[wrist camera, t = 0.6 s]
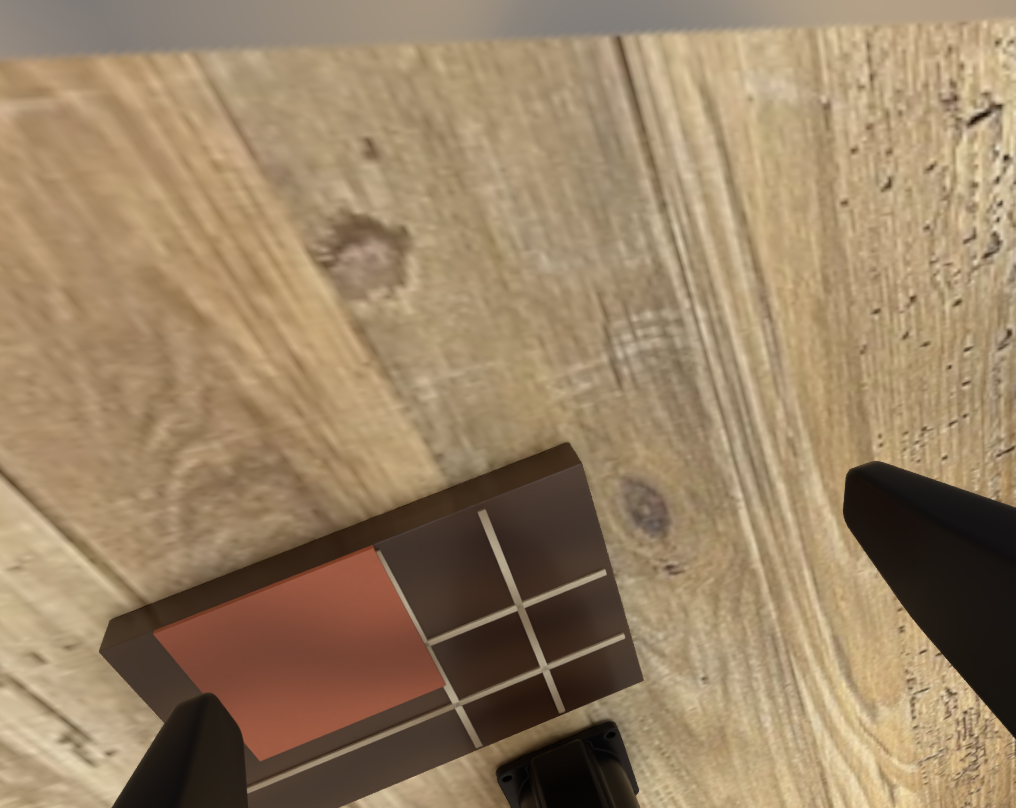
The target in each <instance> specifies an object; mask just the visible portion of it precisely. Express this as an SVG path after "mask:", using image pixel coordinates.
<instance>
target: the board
mask: <svg viewBox="0 0 1016 808" xmlns="http://www.w3.org/2000/svg"><path fill="white" fill-rule="evenodd" d="M99 653H100V654H101V655H102V656H103V657H104V658H105V659H106V660H107V661H108V663H109V664H110V665H111V666H112V667H113V668H114V669H115V670H116V671H117V672H118V673H119V674H120V676H121V677H122V678H123V679H124V680H125V681H126V682H127V683H128V684H129V685H130V686H131V687H132V689H133V690H134V691H135V692H136V693H137V694H138V695H139V696H140V697H141V698H142V699H143V700H144V702H145V703H146V704H147V705H148V706H149V707H150V708H151V709H152V710H153V711H154V712H155V713H156V715H157V716H158V717H159V718H160V719H161V720H162V721H163V722H164V723H165V722H166V720H167V718H168V717H169V715H170V714H171V712H172V710H173V709H174V708H175V706H176V705H177V704H178V703H180V702H181V701H183V700H186V699H189V698H191V697H194V696H197V695H200V694H203V693H207V692H210V693H213V694H215V695H216V696H217V697H218V699H219V700H220V701H221V703H222V704H223V705H224V707H225V708H226V709H227V711H228V712H229V713H230V715H231V716H232V717H233V719H234V720H235V721H236V723H237V724H238V726H239V728H240V730H241V733H242V736H243V741H244V752H245V766H246V781H247V796H248V808H339V807H341V806H344V805H346V804H349V803H351V802H353V801H356V800H358V799H361V798H363V797H365V796H368V795H370V794H373V793H375V792H378V791H380V790H382V789H385V788H387V787H390V786H392V785H394V784H397V783H399V782H402V781H404V780H406V779H409V778H411V777H414V776H416V775H418V774H421V773H423V772H426V771H428V770H430V769H433V768H435V767H438V766H440V765H442V764H445V763H447V762H450V761H452V760H454V759H457V758H459V757H462V756H464V755H466V754H469V753H471V752H474V751H476V750H478V749H481V748H483V747H486V746H488V745H490V744H493V743H495V742H498V741H500V740H502V739H505V738H507V737H510V736H512V735H514V734H517V733H519V732H522V731H524V730H526V729H529V728H531V727H534V726H536V725H538V724H541V723H543V722H546V721H548V720H550V719H553V718H555V717H558V716H560V715H562V714H565V713H567V712H570V711H572V710H574V709H577V708H579V707H582V706H584V705H587V704H589V703H591V702H594V701H596V700H599V699H601V698H603V697H606V696H608V695H611V694H613V693H615V692H618V691H620V690H623V689H625V688H627V687H630V686H632V685H635V684H637V683H639V682H642V681H644V679H643V675H642V672H641V668H640V665H639V661H638V658H637V654H636V651H635V647H634V644H633V640H632V637H631V633H630V630H629V626H628V623H627V619H626V616H625V612H624V609H623V605H622V602H621V598H620V595H619V591H618V588H617V584H616V581H615V577H614V574H613V570H612V567H611V563H610V560H609V556H608V553H607V549H606V546H605V542H604V539H603V535H602V532H601V528H600V524H599V521H598V517H597V514H596V510H595V507H594V503H593V500H592V496H591V493H590V489H589V486H588V482H587V479H586V475H585V472H584V468H583V465H582V462H581V461H580V459H579V457H578V456H577V454H576V452H575V451H574V449H573V448H572V446H571V444H570V443H566V444H563V445H561V446H558V447H555V448H553V449H550V450H548V451H545V452H543V453H540V454H537V455H535V456H532V457H530V458H527V459H525V460H522V461H519V462H517V463H514V464H512V465H509V466H507V467H504V468H501V469H499V470H496V471H494V472H491V473H489V474H486V475H483V476H481V477H478V478H476V479H473V480H470V481H468V482H465V483H463V484H460V485H458V486H455V487H452V488H450V489H447V490H445V491H442V492H440V493H437V494H434V495H432V496H429V497H427V498H424V499H422V500H419V501H416V502H414V503H411V504H409V505H406V506H404V507H401V508H398V509H396V510H393V511H391V512H388V513H386V514H383V515H380V516H378V517H375V518H373V519H370V520H367V521H365V522H362V523H360V524H357V525H355V526H352V527H349V528H347V529H344V530H342V531H339V532H337V533H334V534H331V535H329V536H326V537H324V538H321V539H319V540H316V541H313V542H311V543H308V544H306V545H303V546H301V547H298V548H295V549H293V550H290V551H288V552H285V553H283V554H280V555H277V556H275V557H272V558H270V559H267V560H265V561H262V562H259V563H257V564H254V565H252V566H249V567H246V568H244V569H241V570H239V571H236V572H234V573H231V574H228V575H226V576H223V577H221V578H218V579H216V580H213V581H210V582H208V583H205V584H203V585H200V586H198V587H195V588H192V589H190V590H187V591H185V592H182V593H180V594H177V595H174V596H172V597H169V598H167V599H164V600H162V601H159V602H156V603H154V604H151V605H149V606H146V607H144V608H141V609H138V610H136V611H133V612H131V613H128V614H125V615H123V616H120V617H118V618H115V619H113V620H110V621H109V624H108V627H107V630H106V632H105V635H104V638H103V641H102V644H101V647H100V649H99Z"/></svg>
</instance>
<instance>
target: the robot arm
mask: <svg viewBox="0 0 1016 808" xmlns="http://www.w3.org/2000/svg"><path fill="white" fill-rule="evenodd" d="M843 515H844V519H845V522H846V524H847V526H848V528H849V529H850V531H851V532H852V534H853V535H854V537H855V538H856V539H857V541H858V542H859V544H860V545H861V547H862V548H863V550H864V551H865V552H866V554H867V555H868V557H869V558H870V560H871V561H872V562H873V564H874V565H875V567H876V568H877V570H878V571H879V572H880V574H881V575H882V577H883V578H884V580H885V581H886V583H887V584H888V585H889V587H890V588H891V590H892V591H893V593H894V594H895V595H896V597H897V598H898V600H899V601H900V603H901V604H902V605H903V607H904V608H905V609H906V611H907V612H908V613H909V615H910V616H911V617H912V619H913V620H914V621H915V622H916V623H917V625H918V626H919V627H920V628H921V630H922V631H923V632H924V633H925V634H926V635H927V637H928V638H929V639H930V640H931V641H932V642H933V644H934V645H935V646H936V647H937V648H938V649H939V651H940V652H941V653H942V654H943V655H944V656H945V658H946V659H947V660H948V661H949V662H950V663H951V665H952V666H953V667H954V668H955V669H956V670H957V672H958V673H959V674H960V675H961V676H962V677H963V679H964V680H965V681H966V682H967V683H968V684H969V686H970V687H971V688H972V689H973V690H974V691H975V692H976V694H977V695H978V696H979V697H980V698H981V699H982V701H983V702H984V703H985V704H986V705H987V706H988V708H989V709H990V710H991V711H992V712H993V713H994V715H995V716H996V717H997V718H998V719H999V720H1000V722H1001V723H1002V724H1003V725H1004V726H1005V727H1006V729H1007V730H1008V731H1009V732H1010V733H1011V734H1012V736H1013V737H1014V738H1015V739H1016V507H1013V506H1010V505H1007V504H1004V503H1001V502H998V501H995V500H992V499H989V498H986V497H983V496H980V495H977V494H975V493H972V492H969V491H966V490H963V489H960V488H957V487H954V486H951V485H948V484H945V483H942V482H939V481H936V480H933V479H931V478H928V477H925V476H922V475H919V474H916V473H913V472H910V471H907V470H904V469H901V468H898V467H895V466H892V465H890V464H887V463H884V462H880V461H872V462H869V463H866V464H863V465H860V466H857V467H854V468H852V469H850V470H849V471H848V473H847V475H846V481H845V492H844V503H843ZM496 776H497V781H498V784H499V785H500V787H501V789H502V791H503V793H504V795H505V797H506V799H507V800H508V802H509V804H510V806H511V808H640V805H639V803H638V801H637V798H636V795H637V794H638V792H639V788H638V785H637V782H636V779H635V776H634V773H633V770H632V767H631V764H630V761H629V758H628V755H627V752H626V749H625V747H624V744H623V741H622V738H621V735H620V732H619V729H618V727H617V725H616V723H614V722H606V723H604V724H601V725H599V726H596V727H594V728H592V729H589V730H587V731H584V732H582V733H580V734H577V735H575V736H572V737H570V738H568V739H565V740H563V741H561V742H558V743H556V744H553V745H551V746H549V747H546V748H544V749H541V750H539V751H537V752H534V753H532V754H530V755H527V756H525V757H522V758H520V759H518V760H515V761H513V762H510V763H508V764H506V765H503V766H501V767H500V768H499V769H498V770H497V771H496ZM112 808H248V796H247V781H246V766H245V752H244V741H243V736H242V733H241V730H240V728H239V726H238V724H237V723H236V721H235V720H234V719H233V717H232V716H231V715H230V713H229V712H228V711H227V709H226V708H225V707H224V705H223V704H222V703H221V701H220V700H219V699H218V697H217V696H216V695H215V694H213V693H210V692H207V693H203V694H200V695H197V696H194V697H191V698H189V699H186V700H183V701H181V702H180V703H178V704H177V705H176V706H175V708H174V709H173V710H172V712H171V714H170V715H169V717H168V718H167V720H166V722H165V723H164V725H163V726H162V728H161V730H160V731H159V733H158V734H157V736H156V738H155V739H154V741H153V742H152V744H151V746H150V747H149V749H148V750H147V752H146V754H145V755H144V757H143V758H142V760H141V762H140V763H139V765H138V766H137V768H136V770H135V771H134V773H133V774H132V776H131V778H130V779H129V781H128V782H127V784H126V786H125V787H124V789H123V790H122V792H121V794H120V795H119V797H118V798H117V800H116V802H115V803H114V805H113V806H112Z"/></svg>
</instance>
